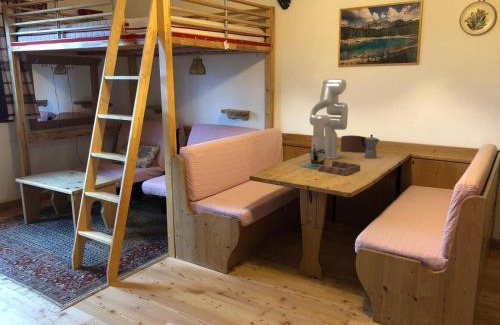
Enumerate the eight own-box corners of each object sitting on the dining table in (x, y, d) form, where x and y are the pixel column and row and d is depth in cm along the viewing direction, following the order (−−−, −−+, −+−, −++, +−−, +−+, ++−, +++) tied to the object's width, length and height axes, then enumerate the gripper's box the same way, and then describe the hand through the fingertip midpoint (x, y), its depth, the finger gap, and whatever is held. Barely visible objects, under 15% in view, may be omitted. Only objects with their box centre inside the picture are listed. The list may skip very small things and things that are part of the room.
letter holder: (364, 153, 335) (365, 136, 332) (340, 151, 342) (341, 135, 339) (366, 150, 344) (367, 134, 341) (342, 149, 351) (343, 133, 348)
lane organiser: (318, 170, 276) (318, 165, 275) (333, 166, 289) (333, 160, 288) (345, 175, 262) (346, 169, 261) (360, 170, 275) (360, 164, 274)
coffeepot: (381, 157, 315) (382, 134, 311) (375, 159, 308) (376, 136, 304) (363, 155, 325) (364, 132, 322) (357, 157, 319) (358, 134, 315)
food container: (328, 162, 288) (328, 149, 285) (326, 165, 282) (325, 151, 280) (311, 161, 293) (311, 148, 290) (309, 163, 288) (308, 150, 285)
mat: (300, 166, 290) (300, 165, 290) (310, 163, 299) (310, 162, 298) (319, 169, 279) (319, 169, 279) (329, 166, 288) (329, 166, 288)
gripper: (321, 132, 291) (320, 157, 295) (306, 135, 279) (306, 161, 283) (330, 133, 286) (329, 158, 290) (316, 136, 274) (315, 162, 278)
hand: (318, 159), depth 286 cm, fingers closed on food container, 6 cm apart
